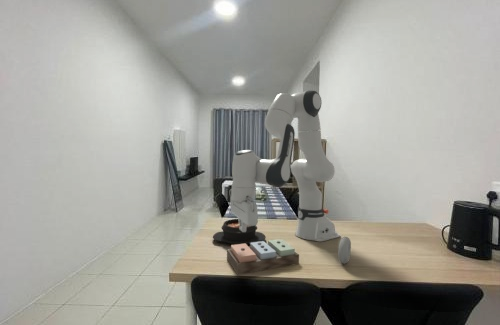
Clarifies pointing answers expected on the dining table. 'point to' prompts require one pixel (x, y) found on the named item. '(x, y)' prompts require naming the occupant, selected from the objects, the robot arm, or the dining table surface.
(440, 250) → the dining table surface
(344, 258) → the donut
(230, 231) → the casserole
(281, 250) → the counting block
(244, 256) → the counting block
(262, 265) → the wooden counting block tray
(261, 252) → the counting block
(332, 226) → the robot arm
